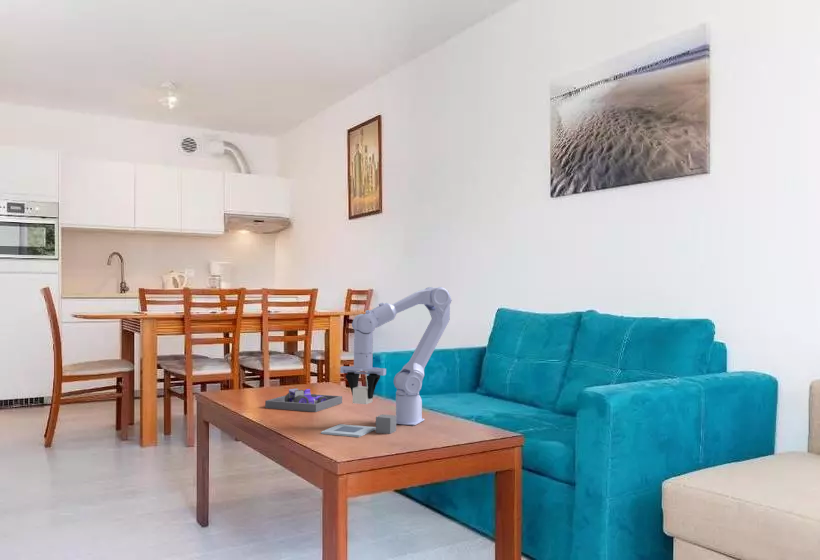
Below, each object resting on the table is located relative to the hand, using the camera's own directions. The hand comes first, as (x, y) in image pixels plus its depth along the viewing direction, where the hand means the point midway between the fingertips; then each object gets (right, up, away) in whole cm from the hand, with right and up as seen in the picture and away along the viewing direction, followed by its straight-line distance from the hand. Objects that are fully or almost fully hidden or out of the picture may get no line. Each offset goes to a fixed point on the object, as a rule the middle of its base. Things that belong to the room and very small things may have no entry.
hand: (362, 397), depth 201 cm
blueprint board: (-3, -8, -9) cm, 13 cm away
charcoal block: (+7, -8, -9) cm, 14 cm away
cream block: (0, -2, 0) cm, 2 cm away
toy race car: (-22, -10, +35) cm, 42 cm away
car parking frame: (-23, -9, +35) cm, 43 cm away
